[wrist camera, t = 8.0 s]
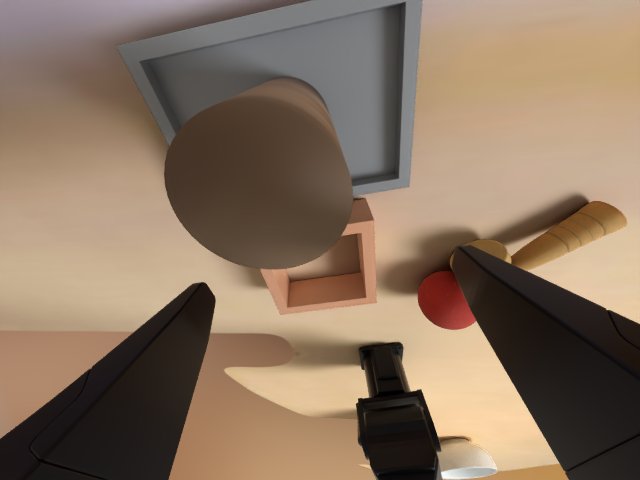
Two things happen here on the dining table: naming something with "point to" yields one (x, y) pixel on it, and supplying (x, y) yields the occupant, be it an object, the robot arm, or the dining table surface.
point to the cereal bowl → (464, 460)
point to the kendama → (516, 261)
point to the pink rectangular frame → (332, 288)
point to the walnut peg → (262, 176)
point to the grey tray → (300, 74)
